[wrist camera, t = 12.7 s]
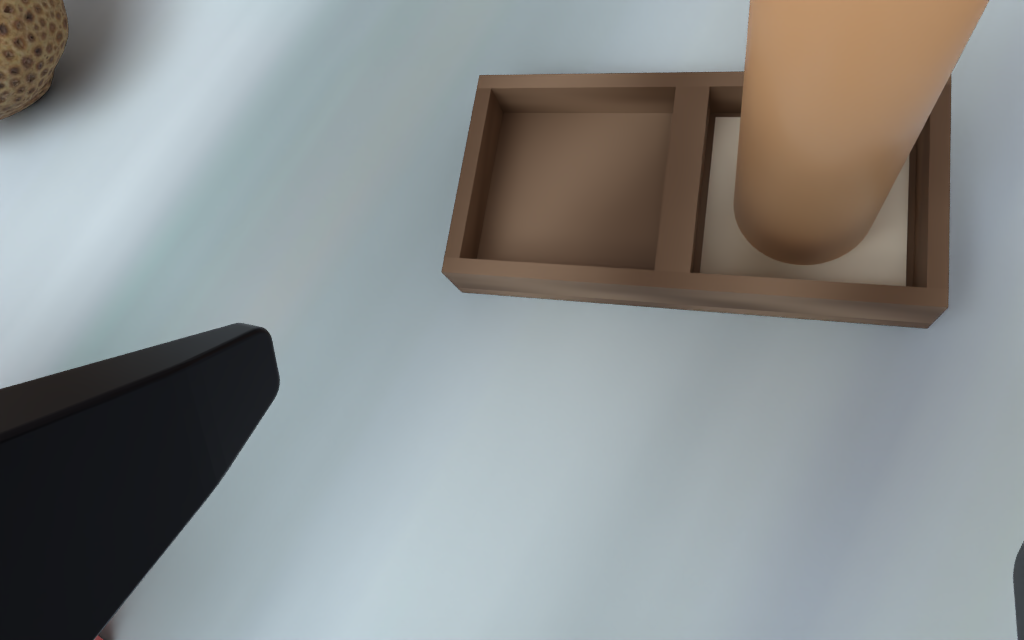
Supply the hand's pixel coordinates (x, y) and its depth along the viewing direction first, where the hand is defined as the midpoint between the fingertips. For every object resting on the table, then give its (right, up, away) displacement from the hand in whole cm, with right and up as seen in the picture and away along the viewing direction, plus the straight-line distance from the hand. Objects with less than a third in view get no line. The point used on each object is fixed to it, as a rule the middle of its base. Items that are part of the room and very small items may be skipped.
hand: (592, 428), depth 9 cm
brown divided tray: (+5, +5, +15) cm, 16 cm away
